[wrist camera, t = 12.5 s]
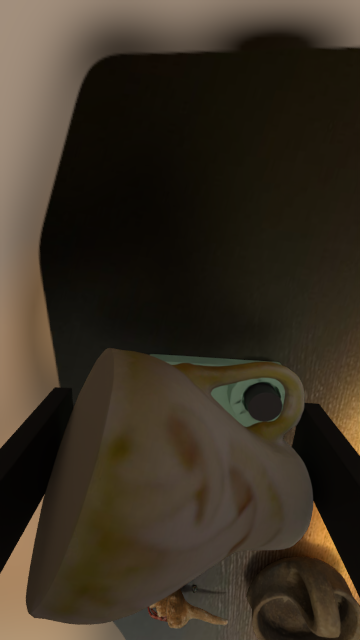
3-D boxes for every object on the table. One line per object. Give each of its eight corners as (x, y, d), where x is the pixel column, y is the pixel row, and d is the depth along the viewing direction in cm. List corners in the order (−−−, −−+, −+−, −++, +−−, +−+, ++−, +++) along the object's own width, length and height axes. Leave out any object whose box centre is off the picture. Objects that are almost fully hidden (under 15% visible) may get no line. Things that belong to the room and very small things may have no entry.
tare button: (246, 381, 26) (250, 391, 25) (279, 383, 26) (285, 393, 25) (242, 409, 27) (245, 420, 26) (273, 411, 27) (279, 422, 26)
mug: (257, 509, 14) (127, 864, 6) (138, 376, 17) (-65, 493, 9) (379, 439, 10) (477, 1125, 2) (201, 282, 13) (-52, 334, 5)
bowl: (241, 601, 41) (258, 712, 31) (245, 517, 36) (265, 619, 26) (333, 602, 40) (378, 714, 31) (350, 516, 35) (410, 620, 26)
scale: (150, 348, 29) (145, 363, 26) (285, 357, 29) (298, 373, 25) (146, 481, 34) (142, 508, 31) (260, 489, 34) (267, 517, 31)
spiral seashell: (136, 597, 42) (130, 639, 37) (130, 576, 40) (123, 617, 36) (224, 593, 41) (229, 635, 36) (222, 572, 39) (226, 613, 35)
